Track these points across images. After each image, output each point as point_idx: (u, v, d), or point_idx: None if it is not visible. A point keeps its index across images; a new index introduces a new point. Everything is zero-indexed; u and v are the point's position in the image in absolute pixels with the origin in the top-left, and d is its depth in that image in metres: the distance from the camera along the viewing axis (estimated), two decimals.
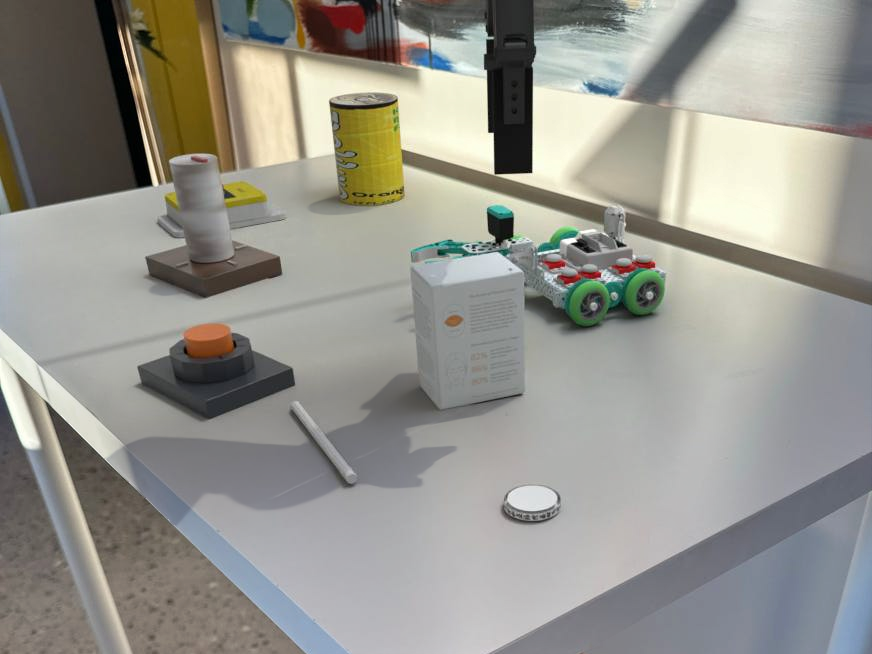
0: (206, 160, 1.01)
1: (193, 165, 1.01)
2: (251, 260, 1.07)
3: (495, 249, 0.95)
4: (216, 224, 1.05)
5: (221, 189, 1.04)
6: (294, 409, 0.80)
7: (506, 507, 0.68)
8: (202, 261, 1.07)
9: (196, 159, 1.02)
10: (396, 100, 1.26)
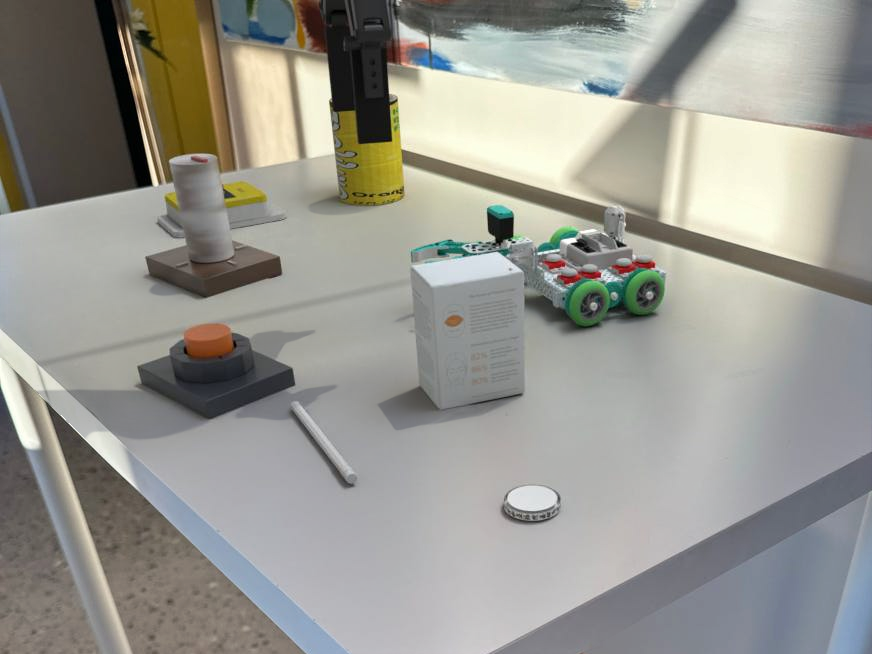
0: (206, 160, 1.01)
1: (193, 165, 1.01)
2: (251, 260, 1.07)
3: (495, 249, 0.95)
4: (216, 224, 1.05)
5: (221, 189, 1.04)
6: (294, 409, 0.80)
7: (506, 507, 0.68)
8: (202, 261, 1.07)
9: (196, 159, 1.02)
10: (396, 100, 1.26)
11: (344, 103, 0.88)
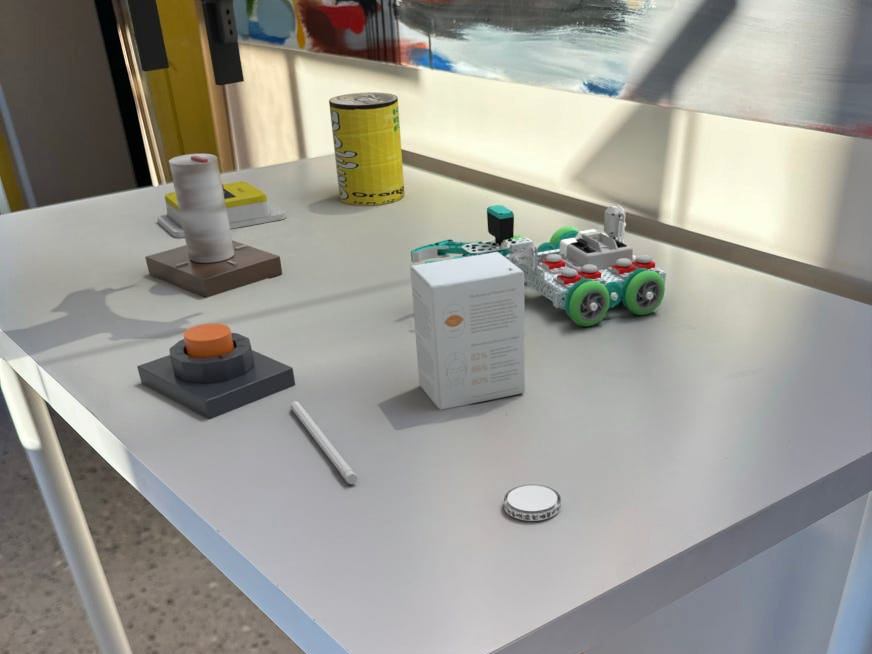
0: (206, 160, 1.01)
1: (193, 165, 1.01)
2: (251, 260, 1.07)
3: (495, 249, 0.95)
4: (216, 224, 1.05)
5: (221, 189, 1.04)
6: (294, 409, 0.80)
7: (506, 507, 0.68)
8: (202, 261, 1.07)
9: (196, 159, 1.02)
10: (396, 100, 1.26)
11: (153, 63, 0.99)
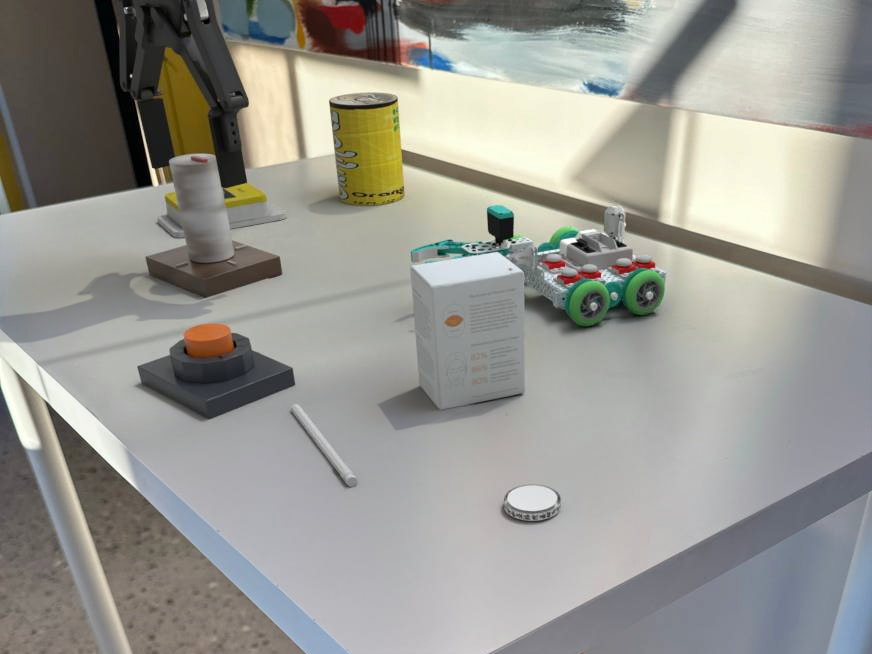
0: (206, 160, 1.01)
1: (193, 165, 1.01)
2: (251, 260, 1.07)
3: (495, 249, 0.95)
4: (216, 224, 1.05)
5: (221, 189, 1.04)
6: (295, 412, 0.81)
7: (506, 507, 0.68)
8: (202, 261, 1.07)
9: (196, 159, 1.02)
10: (396, 100, 1.26)
11: (162, 160, 1.07)
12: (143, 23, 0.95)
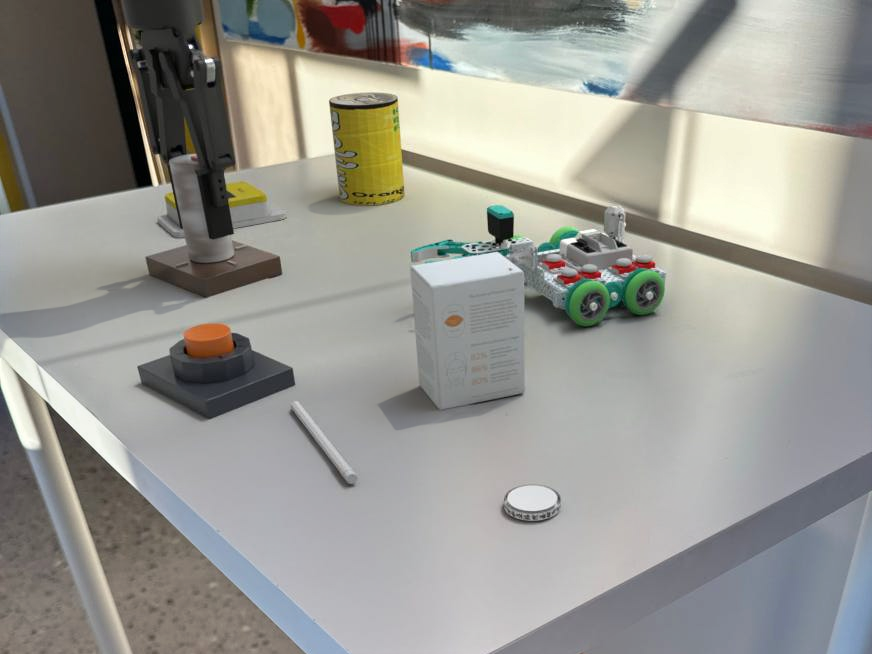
0: None
1: (193, 165, 1.01)
2: (251, 260, 1.07)
3: (495, 249, 0.95)
4: None
5: None
6: (294, 409, 0.80)
7: (506, 507, 0.68)
8: (202, 261, 1.07)
9: (196, 159, 1.02)
10: (396, 100, 1.26)
11: None
12: (153, 65, 0.97)
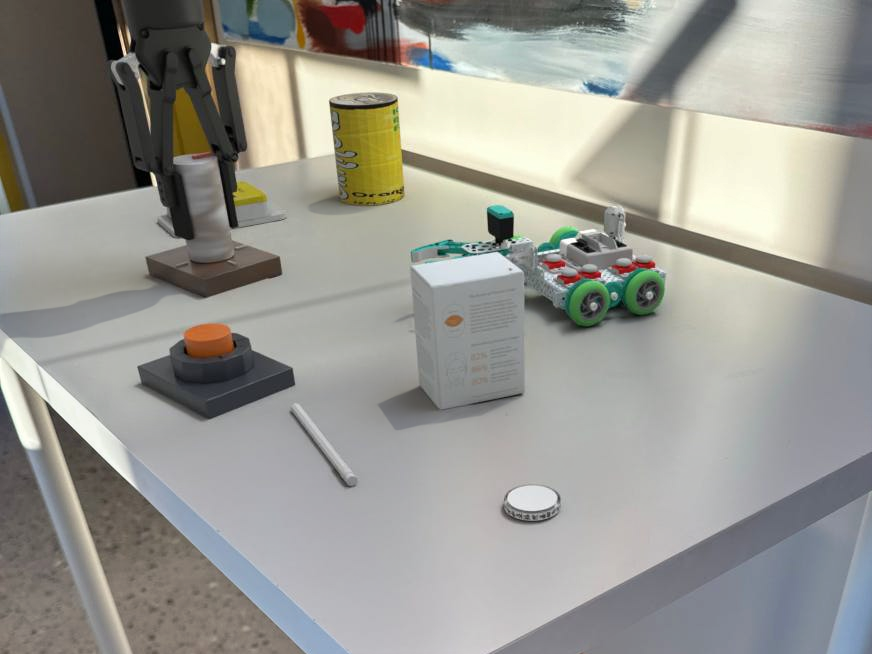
0: None
1: None
2: (251, 260, 1.07)
3: (495, 249, 0.95)
4: None
5: None
6: (294, 411, 0.80)
7: (506, 507, 0.68)
8: (232, 255, 1.08)
9: (203, 155, 1.03)
10: (396, 100, 1.26)
11: None
12: (176, 66, 0.96)
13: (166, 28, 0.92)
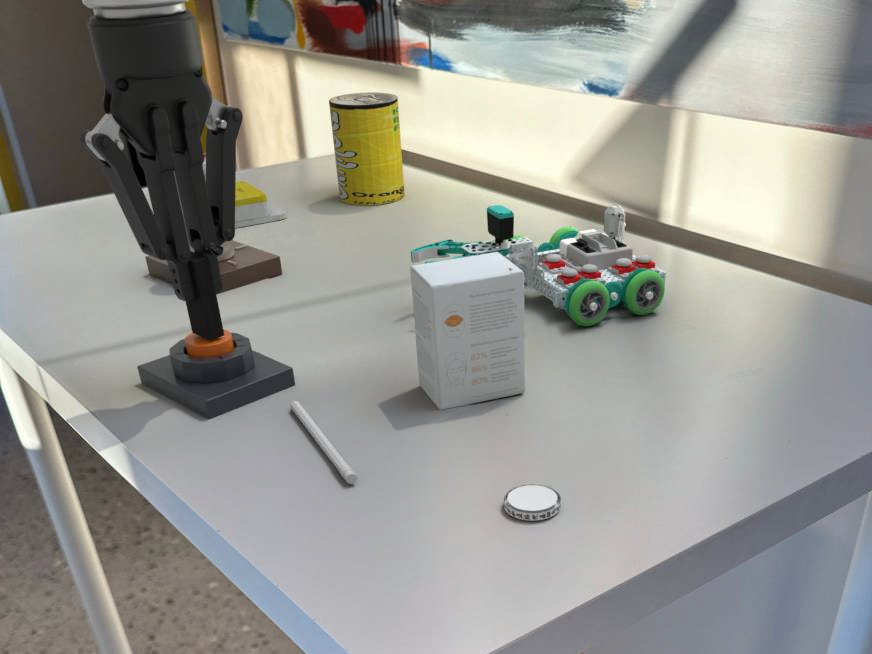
0: None
1: None
2: (251, 260, 1.07)
3: (495, 249, 0.95)
4: None
5: None
6: (294, 409, 0.80)
7: (506, 507, 0.68)
8: (232, 255, 1.08)
9: None
10: (396, 100, 1.26)
11: None
12: (168, 124, 0.72)
13: (151, 78, 0.68)
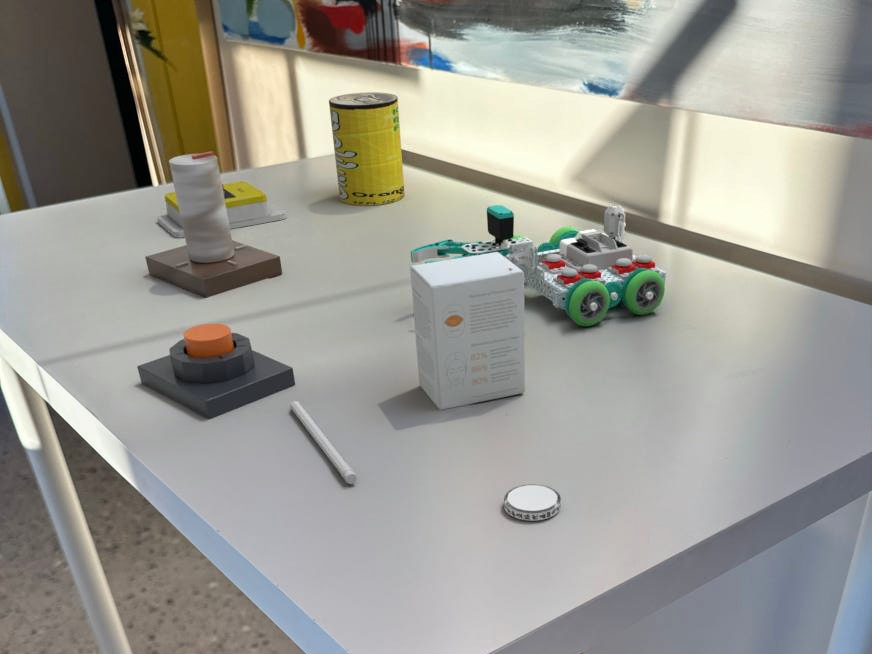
0: None
1: None
2: (251, 260, 1.07)
3: (495, 249, 0.95)
4: None
5: None
6: (294, 409, 0.80)
7: (506, 507, 0.68)
8: (232, 255, 1.08)
9: (203, 155, 1.03)
10: (396, 100, 1.26)
11: None
12: None
13: None
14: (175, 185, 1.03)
